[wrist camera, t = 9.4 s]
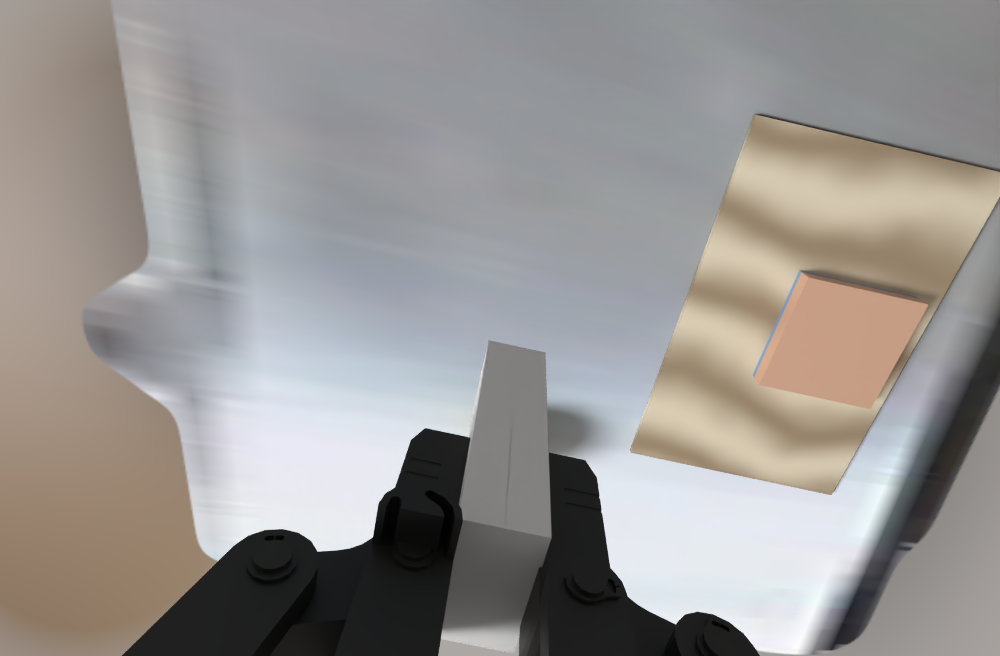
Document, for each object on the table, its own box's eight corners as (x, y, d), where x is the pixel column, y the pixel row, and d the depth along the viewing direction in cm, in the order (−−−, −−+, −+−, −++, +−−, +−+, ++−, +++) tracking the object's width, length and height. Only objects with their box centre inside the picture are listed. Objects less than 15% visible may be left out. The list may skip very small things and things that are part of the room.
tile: (808, 277, 42) (928, 304, 42) (799, 270, 43) (915, 296, 44) (759, 385, 46) (870, 409, 46) (752, 375, 47) (860, 398, 47)
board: (754, 114, 40) (756, 114, 39) (1007, 173, 40) (1012, 174, 40) (630, 449, 51) (630, 452, 51) (829, 492, 52) (831, 495, 51)
